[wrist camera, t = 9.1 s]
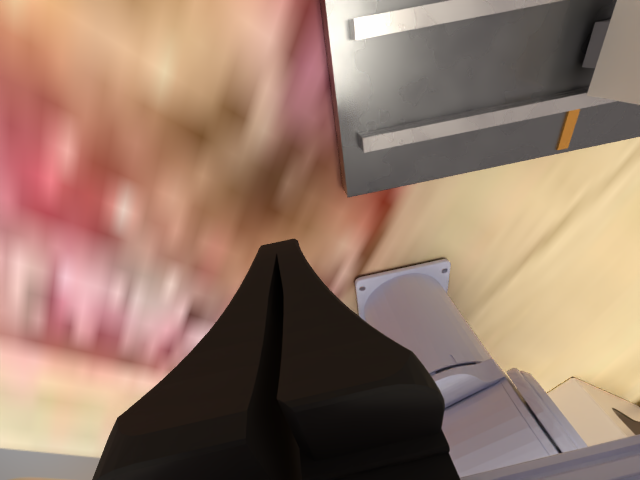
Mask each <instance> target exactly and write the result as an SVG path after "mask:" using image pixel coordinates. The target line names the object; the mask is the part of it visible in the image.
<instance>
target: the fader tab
mask: <svg viewBox="0 0 640 480" xmlns="http://www.w3.org/2000/svg"><path fill="white" fill-rule="evenodd" d="M582 67H585V68H595V71H594V74H593V77H592V80H591V83H590V86H589V89H588V93H587V96H593V97H598V98H604V99H610V100H615V101H621V102H626V103H632V104H637V105H640V0H617V2H616V5H615V8H614V11H613V14H612V17H611V19H609V20H604V21H599V22H595V25H594V28H593V31H592V35H591V38H590V41H589V45H588V48H587V52H586V55H585V58H584V62H583V65H582Z"/></svg>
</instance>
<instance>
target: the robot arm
mask: <svg viewBox="0 0 640 480" xmlns="http://www.w3.org/2000/svg"><path fill="white" fill-rule="evenodd" d="M450 266H451V264H450V262H449V261H448V259H441V260H437V261H432V262H428V263H423V264H418V265H414V266H409V267H405V268H400V269H395V270H391V271H386V272H382V273H377V274H372V275H368V276H363V277H359V278H357V279H356V281H355V288H356V296H357V304H358V312H359V316H358V315H357V314H355V313H354V312H353V311H352V310H350V309H349V308H348V307H347V306H346V305H345V304H344V303H343V302H341V301H340V300H339V299H338V298H337V297H336V296H335V295H334V294H333V293H332V292H331V291H330V290H329V288H328V287H327V286H326V285H325V284H324V283H323V282H322V280H321V279H320V278H319V277H318V276H317V274H316V273H315V272H314V270H313V269H312V267H311V266H310V265H309V263H308V262H307V260H306V259H305V257H304V255H303V253H302V251H301V249H300V247H299V243H298V241H297V240H296V239H290V240H286V241H281V242H276V243H272V244H267V245H262V246H261V247H260V248H259V250H258V253H257V255H256V257H255V259H254V261H253V263H252V265H251V267H250V269H249V271H248V273H247V275H246V277H245V279H244V280H243V282H242V284H241V286H240V287H239V289H238V291H237V292H236V294H235V296H234V297H233V299H232V300H231V302H230V304H229V305H228V307H227V308H226V309H225V311H224V312H223V314H222V315H221V316H220V318H219V319H218V320H217V322H216V323H215V324H214V326H213V327H212V328H211V329H210V331H209V332H208V333H207V334H206V335H205V336H204V337H203V339H202V340H201V341H200V342H199V343H198V344H197V345H196V346H195V348H194V349H193V350H192V351H191V352H190V353H189V354H188V355H187V356H186V357H185V358H184V359H183V360H182V361H181V362H180V363H179V364H178V365H177V366H176V367H175V368H174V369H173V370H172V371H171V372H170V373H169V374H168V375H167V376H166V377H165V378H164V379H163V380H161V381H160V382H159V383H158V384H157V385H156V386H155V387H154V388H153V389H151V390H150V391H149V392H148V393H147V394H145V395H144V396H143V397H142V398H141V399H140V400H138V401H137V402H136V403H135V404H134V405H132V406H131V407H130V408H129V409H128V410H127V411H125V412H124V413H123V414H122V415H120V416H119V417H118V418H117V420H116V422H115V424H114V427H113V429H112V431H111V433H110V435H109V438H108V440H107V443H106V445H105V448H104V451H103V453H102V456H101V458H100V461H99V464H98V466H97V469H96V472H95V474H94V477H93V479H92V480H640V434H638V435H634V436H630V437H626V438H622V439H617V440H613V441H609V442H605V443H601V444H597V445H593V446H587V444H586V443H585V442H584V441H583V439H582V438H581V437H580V435H579V434H578V433H577V432H576V430H575V429H574V428H573V426H572V425H571V424H570V423H569V421H568V420H567V419H566V417H565V416H564V415H563V414H562V412H561V411H560V410H559V408H558V407H557V406H556V405H555V403H554V402H553V401H552V400H551V398H550V397H549V396H548V395H547V393H546V392H545V391H544V389H543V388H542V387H541V386H540V385H539V383H538V382H537V381H536V380H535V378H534V377H533V376H532V375H531V374H530V373H527V372H523V371H519V370H518V369H516V368H512V369H510V370H509V371H507V374H508V376H509V377H510V379H511V380H512V381H511V380H510V379H509V378H508V377H507V375H506V374H505V373H504V372H503V371H502V369H501V368H500V367H499V366H498V364H497V363H496V362H495V361H494V360H493V358H492V357H491V356H490V354H489V353H488V351H487V350H486V349H485V347H484V346H483V344H482V343H481V341H480V340H479V339H478V337H477V336H476V334H475V333H474V331H473V330H472V329H471V327H470V326H469V324H468V323H467V321H466V320H465V319H464V317H463V316H462V314H461V313H460V312H459V310H458V309H457V307H456V306H455V304H454V303H453V302H452V300H451V299H450V297H449V296H448V294H447V291H448V283H449V274H450ZM443 269H444V270H443ZM363 286H364V287H363ZM360 287H362V288H360ZM512 382H513V383H514V384H515V385H514V384H513V383H512ZM515 386H516V387H517V388H516V387H515Z"/></svg>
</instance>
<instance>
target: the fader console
mask: <svg viewBox="0 0 640 480" xmlns="http://www.w3.org/2000/svg"><path fill="white" fill-rule="evenodd" d="M616 2H617V0H320V5H321V13H322V21H323V30H324V38H325V46H326V54H327V62H328V71H329V79H330V87H331V95H332V103H333V111H334V120H335V128H336V136H337V144H338V152H339V161H340V169H341V177H342V185H343V189H344V191H345V193H346V195H347V197H352V196H357V195H362V194H367V193H372V192H376V191H381V190H386V189H391V188H396V187H400V186H405V185H410V184H415V183H420V182H424V181H429V180H434V179H439V178H443V177H448V176H453V175H458V174H463V173H467V172H472V171H477V170H482V169H487V168H491V167H496V166H501V165H506V164H511V163H515V162H520V161H525V160H530V159H535V158H539V157H544V156H549V155H554V154H559V153H563V152H568V151H573V150H578V149H582V148H587V147H592V146H597V145H602V144H606V143H611V142H616V141H621V140H626V139H630V138H635V137H640V105H637V104H632V103H626V102H621V101H615V100H610V99H604V98H598V97H593V96H587V93H588V89H589V86H590V83H591V80H592V77H593V74H594V71H595V68H585V67H582V65H583V62H584V58H585V55H586V52H587V48H588V45H589V41H590V38H591V35H592V31H593V28H594V25H595V22H599V21H604V20H609V19H611V17H612V14H613V11H614V8H615V5H616Z"/></svg>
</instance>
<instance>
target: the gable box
mask: <svg viewBox="0 0 640 480" xmlns="http://www.w3.org/2000/svg"><path fill="white" fill-rule="evenodd" d="M547 395H548V396H549V397H550V398H551V400H552V401H553V402H554V403H555V405H556V406H557V407H558V408H559V410H560V411H561V412H562V414H563V415H564V416H565V417H566V419H567V420H568V421H569V423H570V424H571V425H572V426H573V428H574V429H575V430H576V432H577V433H578V434H579V435H580V437H581V438H582V439H583V441H584V442H585V443H586V444H587V446H593V445H597V444H601V443H605V442H609V441H613V440H617V439H622V438H626V437H630V436H634V435H638V434H640V407H639V406H638V405H635V404H633V403H631V402H628V401H626V400H624V399H622V398H619V397H617V396H615V395H613V394H610V393H608V392H606V391H604V390H601V389H599V388H597V387H594V386H592V385H590V384H588V383H585V382H583V381H581V380H579V379H576V378H574V377H571V378H570V379H568V380H567V381H565V382H563V383H562V384H560V385H559V386H557V387H556V388H554V389H552V390H551V391H549V392H548V393H547Z"/></svg>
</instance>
